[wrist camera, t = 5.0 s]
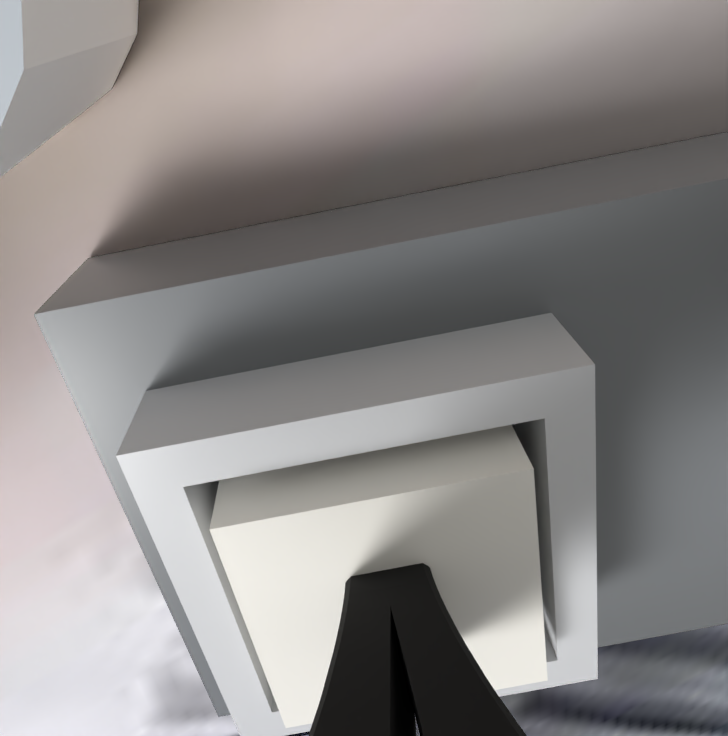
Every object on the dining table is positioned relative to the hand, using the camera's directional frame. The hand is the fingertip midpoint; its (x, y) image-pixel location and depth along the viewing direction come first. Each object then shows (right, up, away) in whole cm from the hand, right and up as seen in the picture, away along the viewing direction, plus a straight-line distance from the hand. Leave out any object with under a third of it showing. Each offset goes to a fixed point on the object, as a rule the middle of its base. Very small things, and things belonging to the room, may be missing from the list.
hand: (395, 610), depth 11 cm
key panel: (+6, +4, +5) cm, 8 cm away
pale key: (0, +1, +1) cm, 2 cm away
